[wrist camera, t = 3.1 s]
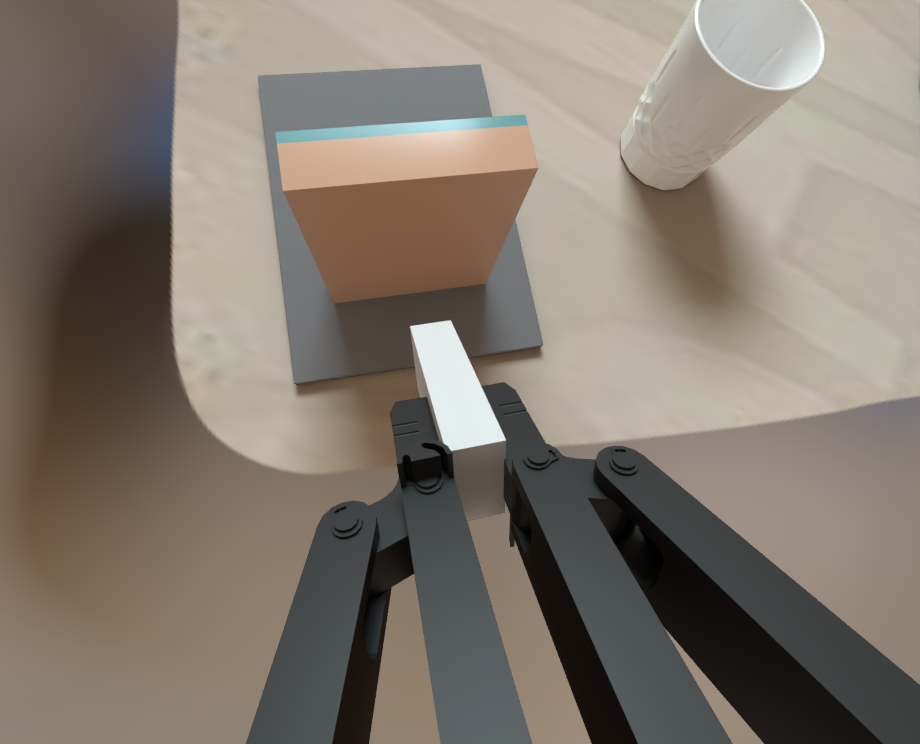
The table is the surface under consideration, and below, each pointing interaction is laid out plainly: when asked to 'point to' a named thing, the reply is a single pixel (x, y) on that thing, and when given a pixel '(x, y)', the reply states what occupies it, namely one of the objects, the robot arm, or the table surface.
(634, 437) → the table surface
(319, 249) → the tile
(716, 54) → the white cup
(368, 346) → the mat
